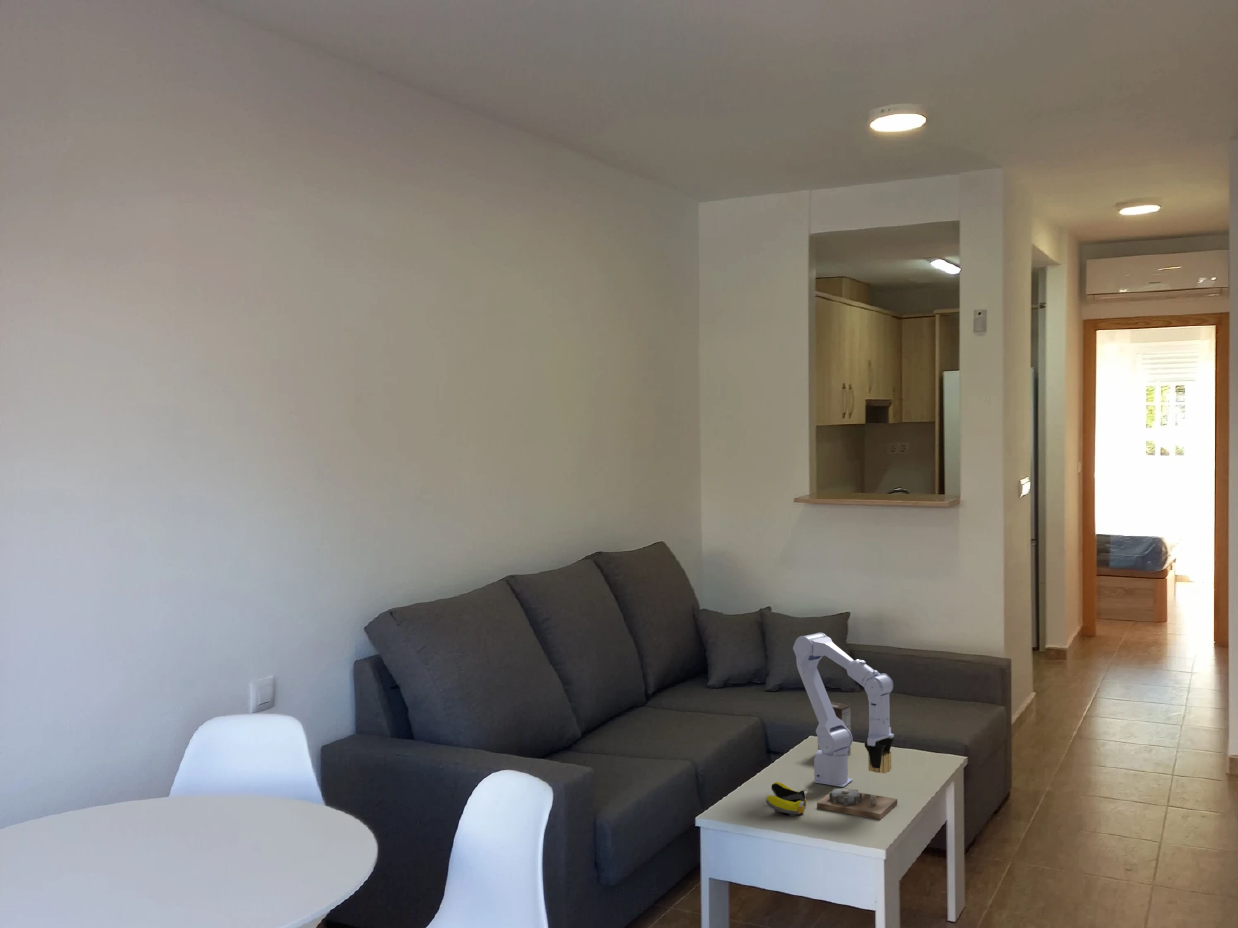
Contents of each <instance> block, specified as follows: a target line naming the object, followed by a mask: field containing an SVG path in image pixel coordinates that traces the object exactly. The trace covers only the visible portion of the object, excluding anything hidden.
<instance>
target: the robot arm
mask: <svg viewBox="0 0 1238 928" xmlns="http://www.w3.org/2000/svg"><path fill="white" fill-rule="evenodd" d="M792 650H793V653H794V654H795V657H796V658H795V659H796V660H795V661H796V667H797V668H796V669H797V671H798V673H799V675H800V678H801V682H802V684H803V685H804V689H805V691H806V694H807V697H808V699H809V701H810V704H811V706H812V710H813V712H814V714H815V716H816V720H817V723H818V722H819V725H818V724H817V727H816V729H815V733H816V735H817V747H818V746H819V748H820V749H821V750H818V749H817V751H816V752H815V754H814V760H813V767H814V768H813V775H814V778H813V781H812V782H813V783H815V784H816V783H817V784H823V785H828V786H834V787H839V788H840V787H841V788H845V787H846V786H847V785H848V784H850V783H851V782H853V780H854V778H851V777H849V762H848V759H849V758H848V757H849V755H848V751H849V747H850V746H852V744H853V740H854V739H853V733H851V732H852V731H851V732H850V731H849V730H848V729H847V727H846V726H845V723H844V722H843V721H842V720H840V719H839V718H837V717H836V715H835V712H834V710H833V707H832V705H831V702H832V701H831V700H830V698H829V695H828V692H827V690H826V688H825V685H824V683H823V680H822V677H821V674H820V672H819V669H818V665H819V662H820V660H821V659H822V658H823V657H827V658H828V659H830V660H832V661H833V662H835V663H836V664H837V665H839V666H841V667H842V668H844V669H845V670H846V672H847V676H848V677H850V678H851V679H853V680H854V682H856V683H858V684H859V685H861V686H862V687H863V689H864V691H865V693H866V696H867V700H868V728H869V729H868V737H867V739H866V740H867V741H865V742H864V747H865V749H866V751H867V754H868V753H869V756H870V760H871V764H872V767H873V768H880V766H881V759H882V753H883V750H885V751H890V752H891V748H892V746H893V744H894V741H895V734H894V733H892V727H891V724H890V723H891V722H890V717H891V716H890V714H891V713H890V709H891V708H890V693H892V692H893V689H894V682H893V680H892V678H891V677H890V676H889V674H887V673H880V672H879V670H876V669H873V668H872V667H871V666H869V665H868V664H866V662H867V661H865V660H863V659H855V660H854V659H853V658H852V657H851V656H850V655H848V654H847V652H845V651H844V650H842V649H841V648H840V647H839V646H838V645H836V644H835V643H834V642H833V641H832V638H831V637H829V636H827V634H825V632H824V633H823V632H816V633H813V634H807V635H800V636H798V637H797V638H796V639H795V641H794V644H793V647H792ZM830 729H832V730H831V731H830Z"/></svg>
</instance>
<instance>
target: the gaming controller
mask: <svg viewBox="0 0 1238 928" xmlns="http://www.w3.org/2000/svg"><path fill="white" fill-rule="evenodd" d="M771 791H772V793H773V794H774V795H772V794H771V795H768V796H766V799H765V800H766V801H765V802H766V803H767V805H768V806H769V807H770V808H771V809H772V810H774V811H775V812H776V813H777V812H778V813H784V814H787V815H788V814H789V816H791V815H796V816H797V815H801V814H803V813H805V807H806V806H807V799H806V796H807V793H808V792H807V791H805V790H799V791H796V790H794V789H792V788H791V787H789V786H787V785H786V784H784V783H782V782H779V781H778V782H777V781H776V782H774V783H772V784H771Z"/></svg>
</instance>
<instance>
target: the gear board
mask: <svg viewBox="0 0 1238 928" xmlns="http://www.w3.org/2000/svg"><path fill="white" fill-rule="evenodd" d="M897 805H898V798H894V797H888V796H882V795H877V794H871V793H870V794H869V793H864V792H859V790H858V789H852V788H847V787H841V788H832V790H831V791H829V792H828V794H826V795H825V796H824V797H823V798H821V799H820V800H819V801H817V802H816V808H817V809H820V810H827V811H831V812H837V813H842V814H843V813H844V814H849V815H854V816H858V817H865V818H871V819H876V820H882V819H883V818H884V817H885V816H886V815H888V813H890V811H891V810H893V809H894V808H895V807H896V806H897Z"/></svg>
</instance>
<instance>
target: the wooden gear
mask: <svg viewBox="0 0 1238 928" xmlns="http://www.w3.org/2000/svg"><path fill="white" fill-rule="evenodd" d="M867 754H868V760H867V761H868V772H873V773H876V774H877V773H878V774H887V773H888V772H889V773H890V772H891V770H892V751H891V750H890V751H885V750H883V753H882V759H881V766H880V768H873V767H872V764H871V760H870V756H869V753H868V752H867Z"/></svg>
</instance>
